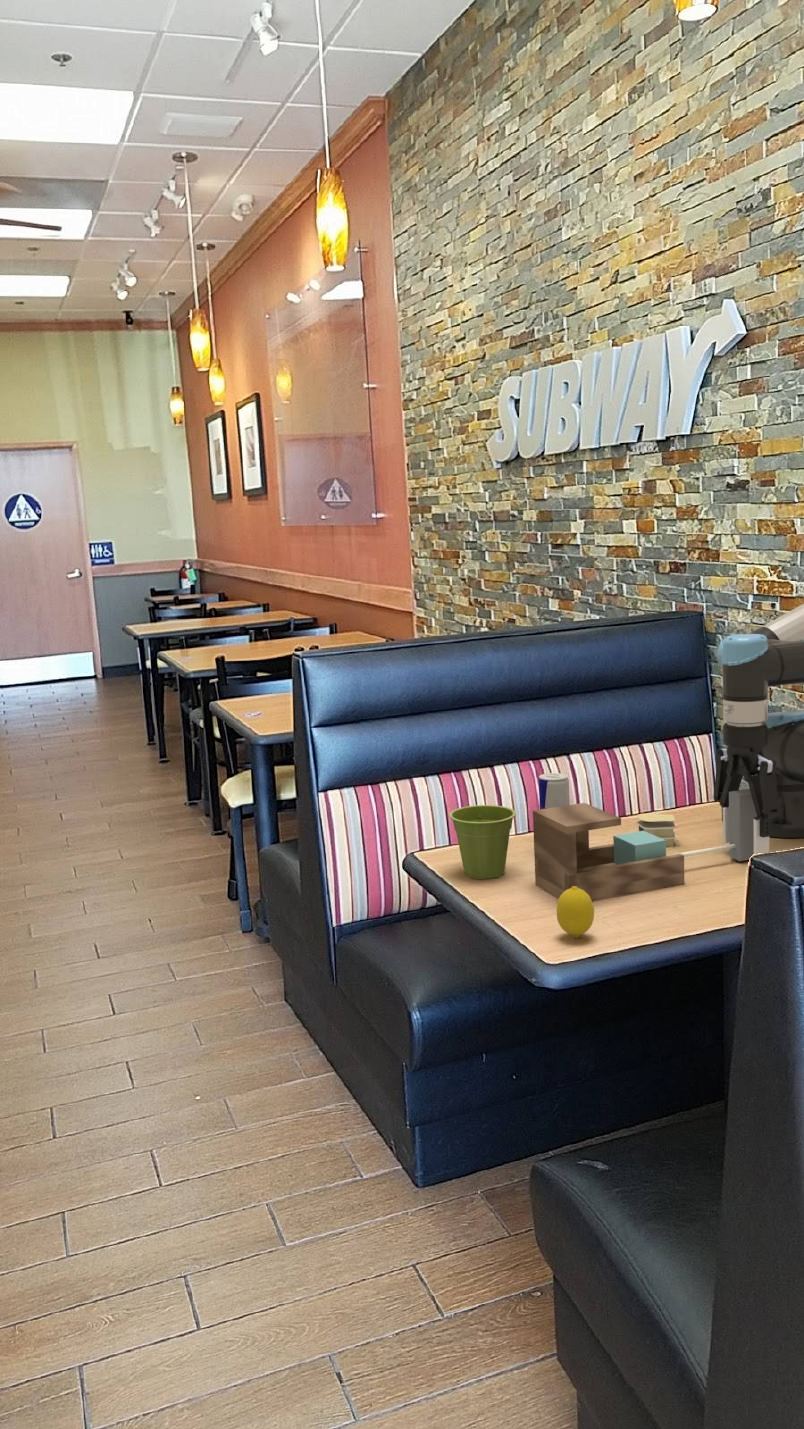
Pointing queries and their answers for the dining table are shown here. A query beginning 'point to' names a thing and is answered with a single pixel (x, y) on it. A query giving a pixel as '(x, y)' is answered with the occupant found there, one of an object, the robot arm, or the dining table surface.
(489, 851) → the plant pot
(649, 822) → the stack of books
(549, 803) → the beverage can
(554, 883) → the walnut shelf
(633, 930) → the dining table surface
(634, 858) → the pull block
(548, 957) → the dining table surface
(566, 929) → the lemon
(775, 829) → the robot arm
